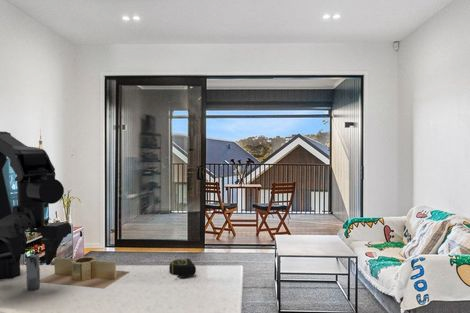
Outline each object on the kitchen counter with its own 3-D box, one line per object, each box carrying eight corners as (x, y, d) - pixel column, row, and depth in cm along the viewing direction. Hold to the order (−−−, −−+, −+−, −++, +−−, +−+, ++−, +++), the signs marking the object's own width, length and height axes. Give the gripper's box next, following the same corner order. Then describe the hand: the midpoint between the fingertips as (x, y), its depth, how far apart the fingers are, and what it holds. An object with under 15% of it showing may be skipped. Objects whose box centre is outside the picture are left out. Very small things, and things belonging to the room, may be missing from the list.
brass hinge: (46, 278, 95) (46, 261, 95) (63, 270, 101) (63, 254, 101) (108, 283, 91) (108, 266, 91) (121, 275, 97) (121, 258, 97)
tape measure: (196, 277, 97) (196, 264, 97) (171, 281, 95) (171, 267, 95) (191, 269, 104) (191, 257, 104) (167, 272, 102) (167, 259, 101)
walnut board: (36, 285, 93) (36, 281, 93) (68, 270, 104) (68, 266, 104) (104, 292, 88) (103, 288, 88) (130, 275, 99) (130, 271, 99)
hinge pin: (24, 294, 87) (23, 257, 87) (33, 290, 90) (32, 254, 90) (33, 295, 86) (32, 258, 86) (42, 291, 89) (41, 255, 89)
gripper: (-31, 204, 82) (-29, 271, 82) (37, 207, 77) (38, 278, 78) (10, 197, 93) (12, 257, 93) (72, 199, 88) (73, 262, 89)
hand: (32, 263), depth 88 cm, fingers open, 9 cm apart
